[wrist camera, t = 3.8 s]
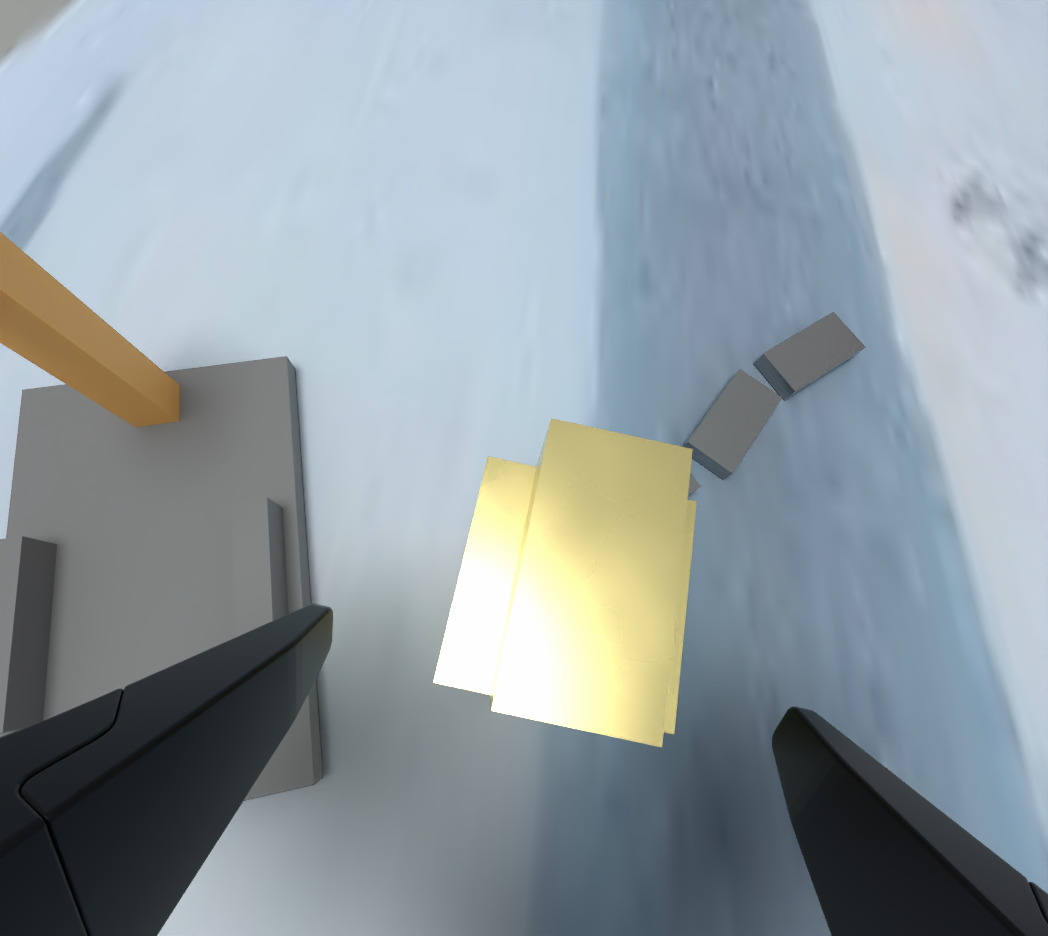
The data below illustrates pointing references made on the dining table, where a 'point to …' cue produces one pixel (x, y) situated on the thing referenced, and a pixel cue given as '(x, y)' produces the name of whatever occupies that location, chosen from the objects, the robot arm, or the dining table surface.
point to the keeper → (142, 515)
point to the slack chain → (767, 393)
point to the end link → (578, 585)
